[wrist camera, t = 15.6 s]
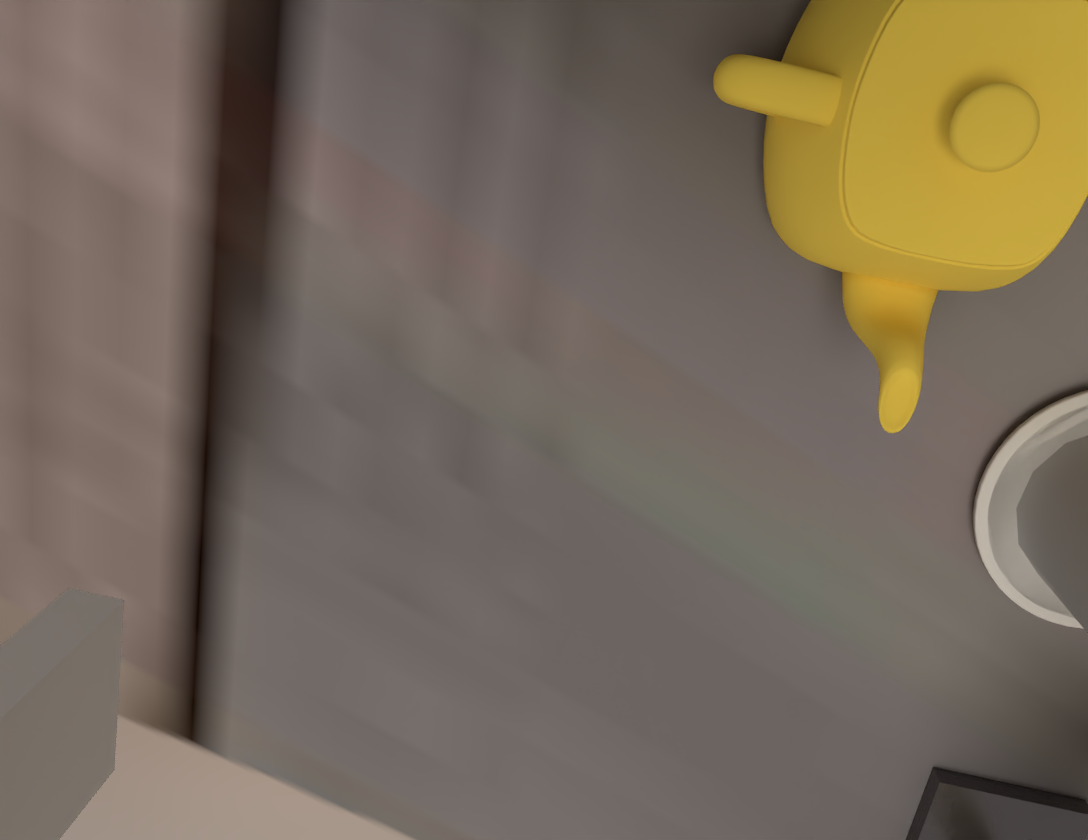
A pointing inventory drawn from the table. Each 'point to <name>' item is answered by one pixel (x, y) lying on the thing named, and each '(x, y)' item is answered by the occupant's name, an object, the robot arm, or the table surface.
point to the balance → (994, 811)
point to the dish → (1003, 495)
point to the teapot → (921, 154)
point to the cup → (1059, 525)
